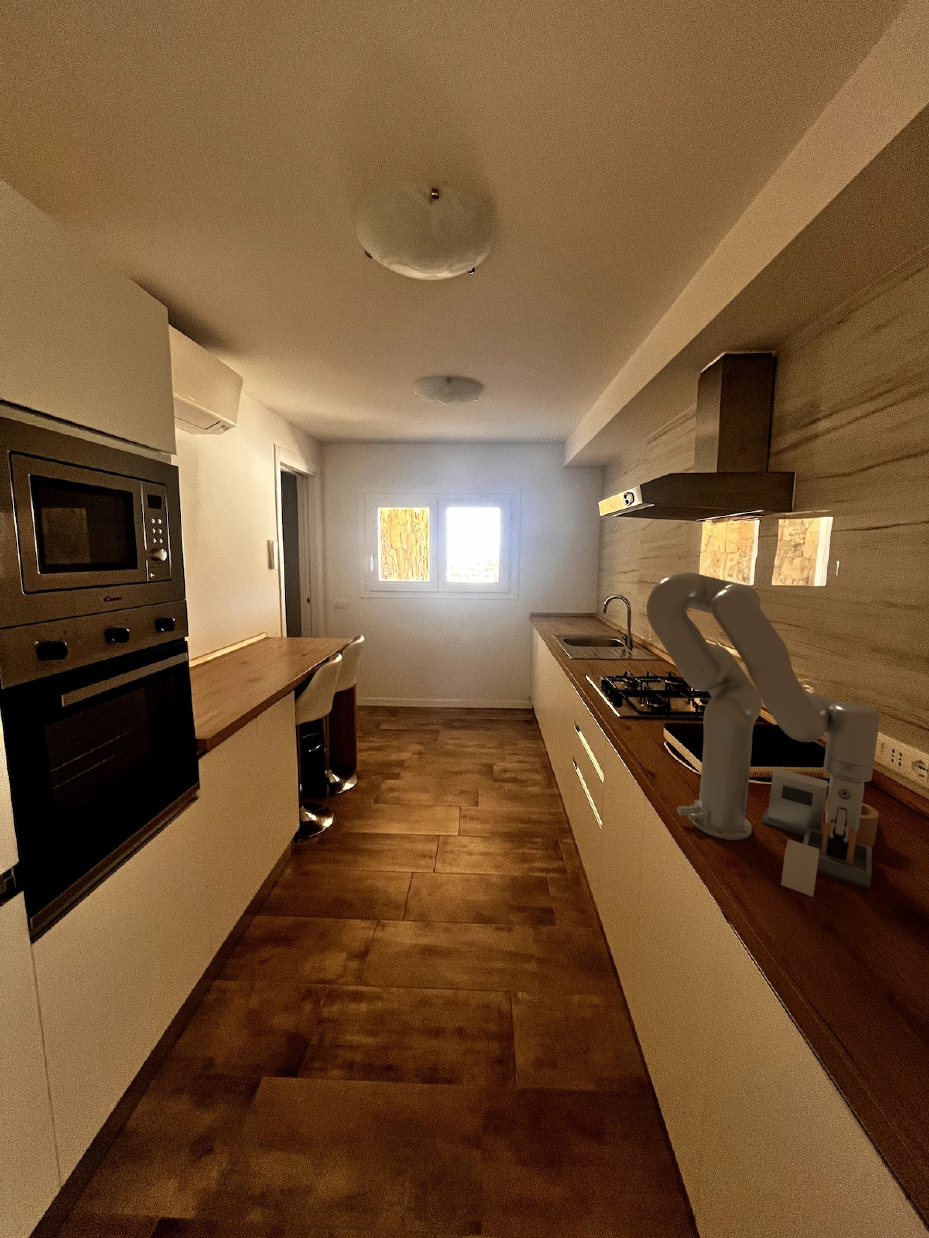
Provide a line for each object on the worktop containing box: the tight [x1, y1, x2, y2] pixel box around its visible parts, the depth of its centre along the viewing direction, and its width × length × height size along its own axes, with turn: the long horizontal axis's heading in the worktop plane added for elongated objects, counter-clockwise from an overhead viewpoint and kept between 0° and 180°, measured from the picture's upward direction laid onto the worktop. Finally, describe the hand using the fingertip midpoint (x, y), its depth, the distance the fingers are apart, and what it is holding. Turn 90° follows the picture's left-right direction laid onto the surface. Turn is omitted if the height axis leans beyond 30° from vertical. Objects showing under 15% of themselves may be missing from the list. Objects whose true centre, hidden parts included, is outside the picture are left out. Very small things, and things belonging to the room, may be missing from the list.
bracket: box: [824, 797, 880, 847], centre depth 113 cm, size 18×8×7 cm, turn 147°
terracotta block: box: [821, 812, 857, 864], centre depth 99 cm, size 5×5×7 cm
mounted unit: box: [761, 767, 829, 837], centre depth 111 cm, size 12×6×12 cm, turn 51°
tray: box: [802, 828, 873, 890], centre depth 100 cm, size 11×11×3 cm
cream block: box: [781, 839, 820, 897], centre depth 93 cm, size 5×5×7 cm
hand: (836, 849), depth 99 cm, fingers closed on terracotta block, 4 cm apart
